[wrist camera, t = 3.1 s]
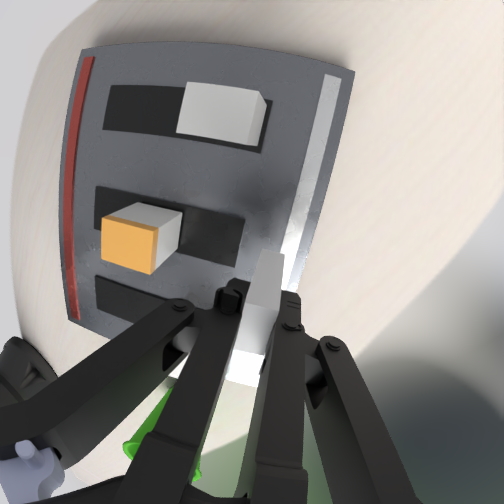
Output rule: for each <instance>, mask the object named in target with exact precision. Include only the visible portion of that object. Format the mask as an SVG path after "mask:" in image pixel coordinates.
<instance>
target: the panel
mask: <svg viewBox="0 0 504 504" xmlns="http://www.w3.org/2000/svg"><path fill="white" fill-rule="evenodd" d="M354 76H355V71H352V70H349V69H346V68H343V67H339V66H336V65H333V64H329V63H325V62H322V61H318V60H314V59H310V58H306V57H302V56H297V55H293V54H288V53H283V52H278V51H272V50H266V49H260V48H253V47H246V46H238V45H228V44H217V43H202V42H143V43H129V44H118V45H109V46H101V47H94V48H88V49H82V50H81V54H80V57H79V61H78V64H77V68H76V72H75V76H74V80H73V85H72V89H71V94H70V99H69V104H68V109H67V115H66V121H65V128H64V135H63V143H62V153H61V164H60V179H59V243H60V258H61V270H62V279H63V288H64V295H65V302H66V308H67V314H68V320H70V321H72V322H74V323H76V324H78V325H80V326H82V327H84V328H86V329H88V330H91V331H93V332H95V333H97V334H99V335H102V336H104V337H106V338H108V339H111V340H112V339H113V338H115V337H116V336H117V335H119V334H120V333H122V332H123V331H125V330H126V329H127V328H129V327H130V326H132V325H133V324H134V323H136V322H137V321H139V320H140V319H142V318H143V317H144V316H146V315H147V314H149V313H150V312H151V311H153V310H154V309H156V308H157V307H159V306H160V305H161V304H163V303H164V302H166V301H167V300H169V299H171V298H184V299H187V300H189V301H190V302H192V303H193V305H194V306H195V309H199V310H207V309H211V308H212V307H213V304H214V298H215V293H216V290H217V289H218V288H220V287H226V285H227V283H228V281H229V280H231V279H232V278H238V279H242V280H245V281H249V282H251V281H252V278H253V275H254V272H255V269H256V266H257V262H258V259H259V256H260V253H261V250H262V249H266V250H270V251H274V252H278V253H281V254H285V261H284V271H283V280H282V289H283V290H286V291H290V292H294V293H296V290H297V287H298V283H299V280H300V277H301V274H302V271H303V268H304V265H305V262H306V259H307V256H308V252H309V249H310V246H311V243H312V239H313V236H314V233H315V230H316V226H317V223H318V219H319V216H320V213H321V209H322V206H323V202H324V199H325V195H326V191H327V188H328V184H329V180H330V177H331V173H332V169H333V165H334V162H335V158H336V154H337V150H338V146H339V142H340V138H341V134H342V130H343V126H344V121H345V117H346V113H347V108H348V104H349V99H350V95H351V90H352V85H353V81H354ZM187 82H197V83H206V84H215V85H223V86H230V87H237V88H243V89H249V90H255V91H259V92H260V94H261V96H262V97H263V99H264V101H265V103H266V105H267V107H266V111H265V116H264V120H263V124H262V128H261V133H260V137H259V141H258V145H257V146H253V145H245V144H240V143H235V142H230V141H224V140H219V139H213V138H208V137H202V136H196V135H189V134H183V133H176V130H177V125H178V120H179V115H180V111H181V106H182V102H183V97H184V93H185V89H186V85H187ZM137 202H139V203H143V204H147V205H152V206H156V207H160V208H165V209H169V210H173V211H178V212H182V219H181V226H180V233H179V241H178V249H176V250H175V251H174V252H173V253H172V254H171V255H170V256H169V257H168V258H167V259H166V260H165V261H164V262H163V263H162V264H161V265H160V266H159V267H158V268H157V269H156V270H155V271H154V272H153V273H151V274H150V275H149V274H146V273H142V272H139V271H136V270H133V269H130V268H127V267H124V266H121V265H118V264H115V263H112V262H109V261H106V260H103V259H101V229H102V218H103V217H105V216H107V215H109V214H112V213H114V212H116V211H118V210H121V209H123V208H125V207H128V206H130V205H132V204H135V203H137ZM264 356H265V354H264ZM263 359H264V357H263V356H259V355H255V354H251V353H247V352H243V351H239V350H236V349H233V352H232V356H231V359H230V363H229V366H228V369H227V372H226V376H225V379H227V380H230V381H234V382H238V383H242V384H246V385H250V386H255V387H258V382H259V377H260V375H258V373H259V370H260V368H261V365H262V362H263Z"/></svg>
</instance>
